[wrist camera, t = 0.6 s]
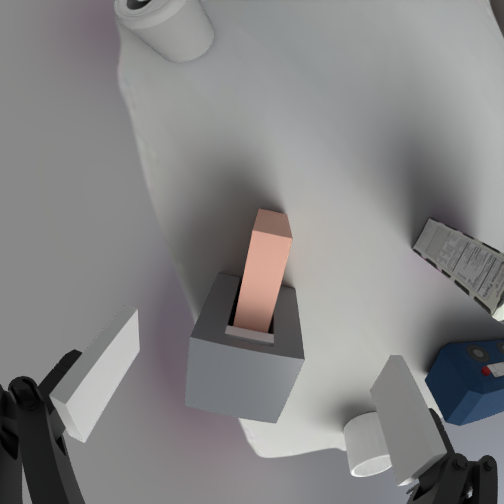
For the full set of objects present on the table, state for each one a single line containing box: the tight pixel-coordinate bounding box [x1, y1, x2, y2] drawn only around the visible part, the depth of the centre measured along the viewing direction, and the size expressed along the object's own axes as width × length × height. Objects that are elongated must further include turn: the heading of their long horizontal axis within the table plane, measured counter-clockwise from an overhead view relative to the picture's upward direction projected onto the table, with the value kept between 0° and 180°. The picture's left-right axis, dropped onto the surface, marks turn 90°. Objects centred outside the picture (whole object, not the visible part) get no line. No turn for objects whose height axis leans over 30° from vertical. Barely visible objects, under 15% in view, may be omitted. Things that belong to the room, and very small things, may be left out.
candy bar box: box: [412, 217, 504, 325], centre depth 21 cm, size 11×5×16 cm, turn 66°
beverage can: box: [114, 0, 214, 62], centre depth 18 cm, size 6×6×12 cm
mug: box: [343, 412, 392, 477], centre depth 36 cm, size 8×12×10 cm, turn 101°
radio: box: [425, 339, 504, 426], centre depth 25 cm, size 21×9×20 cm, turn 84°
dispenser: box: [185, 273, 305, 423], centre depth 28 cm, size 9×9×12 cm
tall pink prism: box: [233, 209, 292, 333], centre depth 28 cm, size 16×3×9 cm, turn 169°
